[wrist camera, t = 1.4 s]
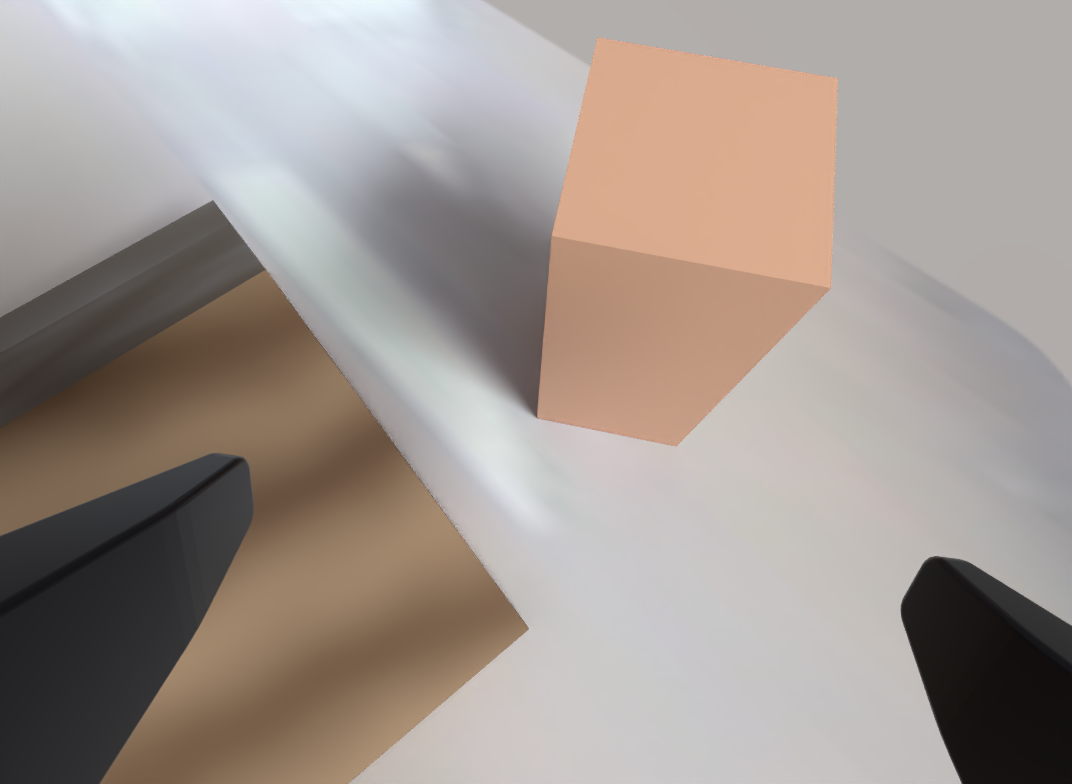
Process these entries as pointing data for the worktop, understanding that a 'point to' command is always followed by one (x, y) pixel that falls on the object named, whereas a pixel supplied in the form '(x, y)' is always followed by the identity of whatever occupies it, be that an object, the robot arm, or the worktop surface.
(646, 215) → the carton
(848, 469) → the worktop surface
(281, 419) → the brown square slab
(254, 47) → the worktop surface
